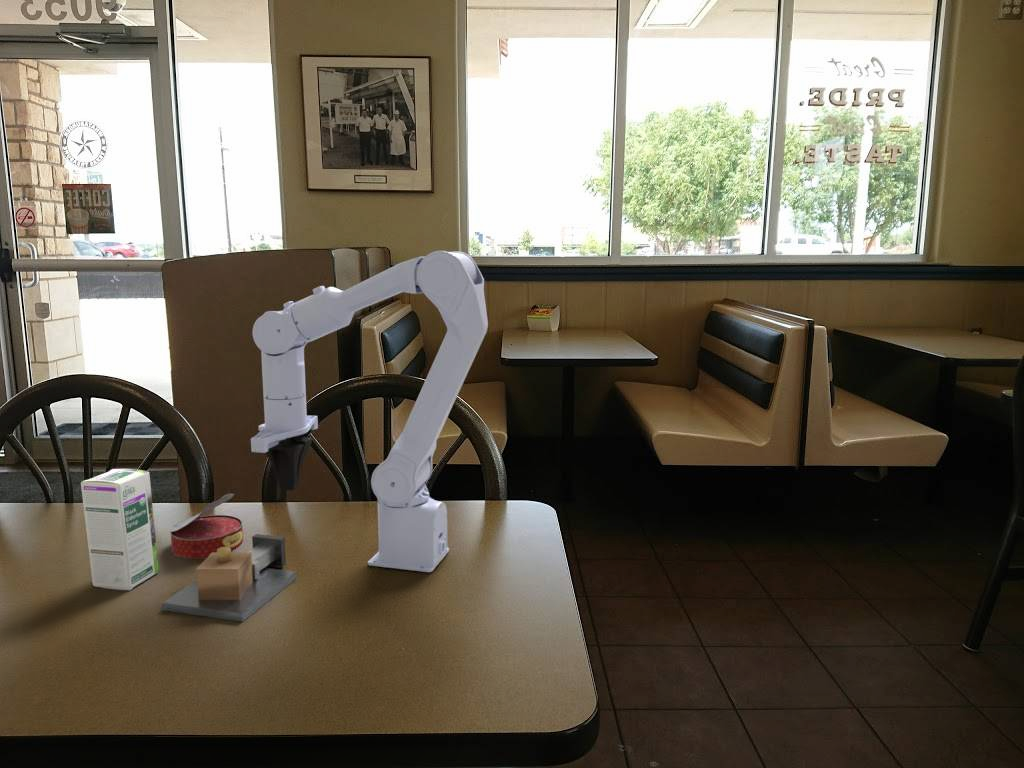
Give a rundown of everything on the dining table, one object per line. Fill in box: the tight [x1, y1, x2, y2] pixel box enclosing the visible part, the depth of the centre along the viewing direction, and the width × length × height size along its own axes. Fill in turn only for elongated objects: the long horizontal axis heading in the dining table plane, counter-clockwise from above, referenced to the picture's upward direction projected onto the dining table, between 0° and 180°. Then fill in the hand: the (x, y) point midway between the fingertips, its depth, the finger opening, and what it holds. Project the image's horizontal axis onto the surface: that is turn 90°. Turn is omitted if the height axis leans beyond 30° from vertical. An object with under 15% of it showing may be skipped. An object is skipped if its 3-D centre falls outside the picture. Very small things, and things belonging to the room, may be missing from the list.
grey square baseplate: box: [161, 567, 297, 623], centre depth 93 cm, size 11×12×1 cm
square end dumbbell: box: [247, 533, 287, 579], centre depth 98 cm, size 4×7×4 cm, turn 166°
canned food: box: [169, 493, 244, 559], centre depth 108 cm, size 11×10×10 cm
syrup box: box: [80, 468, 160, 591], centre depth 96 cm, size 6×6×14 cm
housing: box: [195, 547, 253, 600], centre depth 92 cm, size 5×5×6 cm
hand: (289, 488), depth 106 cm, fingers closed
